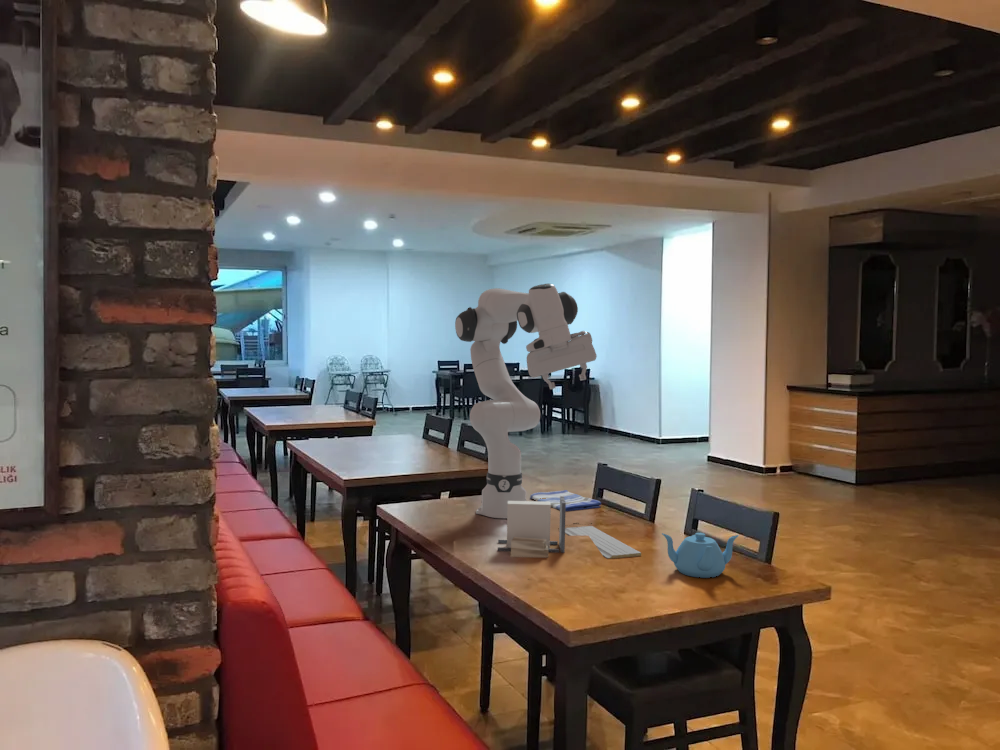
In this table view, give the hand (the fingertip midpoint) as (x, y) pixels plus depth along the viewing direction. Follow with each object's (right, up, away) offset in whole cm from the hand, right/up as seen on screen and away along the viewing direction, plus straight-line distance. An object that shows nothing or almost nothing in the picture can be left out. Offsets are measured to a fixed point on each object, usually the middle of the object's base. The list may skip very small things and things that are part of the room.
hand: (568, 384), depth 223 cm
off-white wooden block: (-12, -47, -6) cm, 49 cm away
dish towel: (+4, -45, +58) cm, 73 cm away
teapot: (+32, -49, -23) cm, 63 cm away
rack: (-12, -47, -6) cm, 49 cm away
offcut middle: (-12, -46, -14) cm, 50 cm away
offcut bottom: (-12, -48, -13) cm, 51 cm away
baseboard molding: (+9, -48, +5) cm, 49 cm away
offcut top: (-12, -44, -14) cm, 48 cm away
